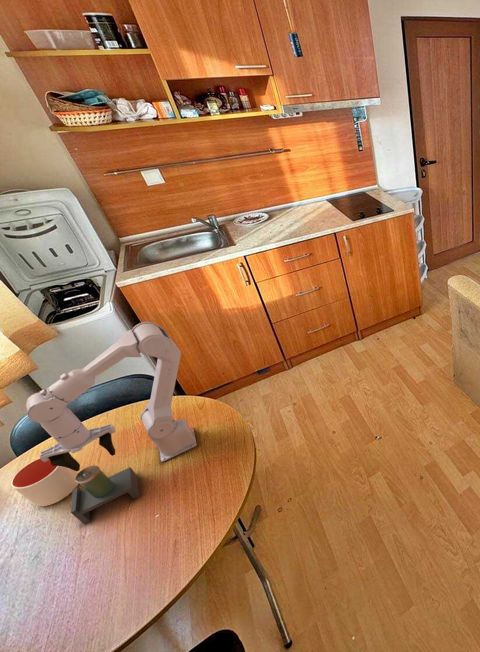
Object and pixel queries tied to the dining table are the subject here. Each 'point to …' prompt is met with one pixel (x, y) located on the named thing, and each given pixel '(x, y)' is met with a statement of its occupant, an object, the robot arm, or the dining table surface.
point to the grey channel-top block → (87, 502)
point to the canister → (94, 481)
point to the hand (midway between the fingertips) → (96, 460)
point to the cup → (44, 482)
